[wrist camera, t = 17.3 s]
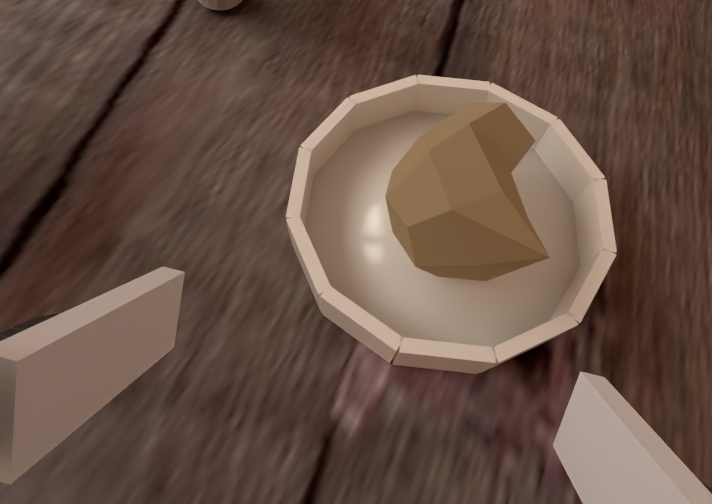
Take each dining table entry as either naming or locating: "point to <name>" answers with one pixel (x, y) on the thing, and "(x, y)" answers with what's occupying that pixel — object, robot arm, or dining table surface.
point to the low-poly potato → (465, 196)
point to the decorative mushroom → (219, 4)
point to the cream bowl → (394, 267)
